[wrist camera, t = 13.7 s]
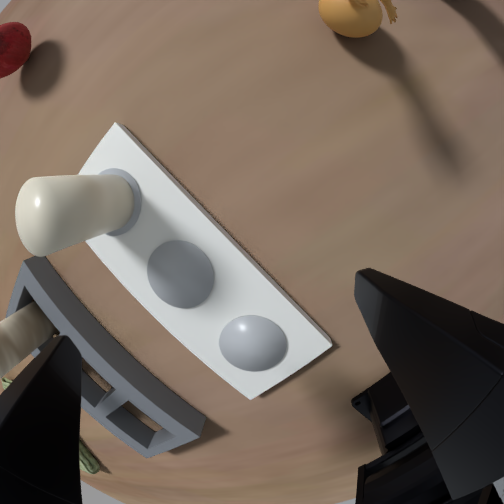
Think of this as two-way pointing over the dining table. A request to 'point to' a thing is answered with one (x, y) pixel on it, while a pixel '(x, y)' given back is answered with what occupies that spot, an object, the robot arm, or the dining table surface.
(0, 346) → the birch peg
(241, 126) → the dining table surface
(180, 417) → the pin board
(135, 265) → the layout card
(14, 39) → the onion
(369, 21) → the figurine
